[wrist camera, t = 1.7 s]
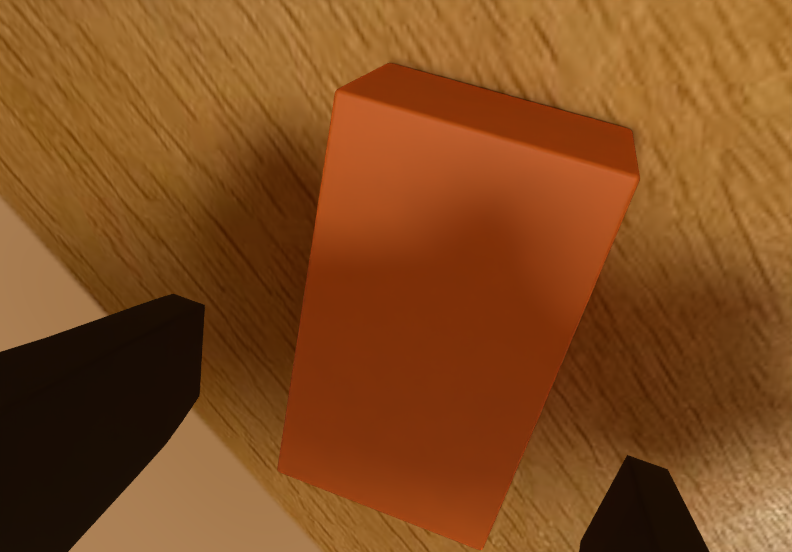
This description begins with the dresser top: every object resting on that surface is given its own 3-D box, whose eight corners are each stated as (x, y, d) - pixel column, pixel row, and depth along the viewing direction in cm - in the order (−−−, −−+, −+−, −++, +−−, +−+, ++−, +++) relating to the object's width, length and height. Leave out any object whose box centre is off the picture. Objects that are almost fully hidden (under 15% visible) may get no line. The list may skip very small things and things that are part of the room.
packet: (324, 395, 17) (275, 472, 15) (387, 61, 13) (334, 88, 10) (500, 460, 17) (482, 552, 14) (633, 129, 12) (642, 176, 9)
